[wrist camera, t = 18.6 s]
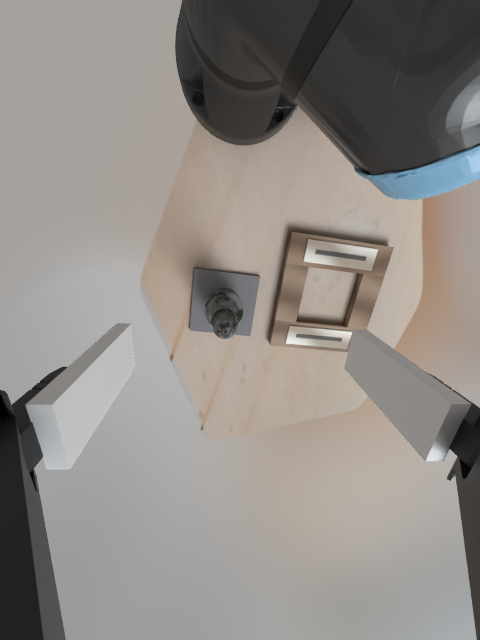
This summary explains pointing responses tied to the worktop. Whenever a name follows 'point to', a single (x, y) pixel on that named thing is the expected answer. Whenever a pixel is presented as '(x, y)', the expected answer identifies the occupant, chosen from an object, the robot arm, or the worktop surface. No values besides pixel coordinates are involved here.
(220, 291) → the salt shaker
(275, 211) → the worktop surface
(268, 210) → the worktop surface
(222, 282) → the rubber mat
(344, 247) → the label board
